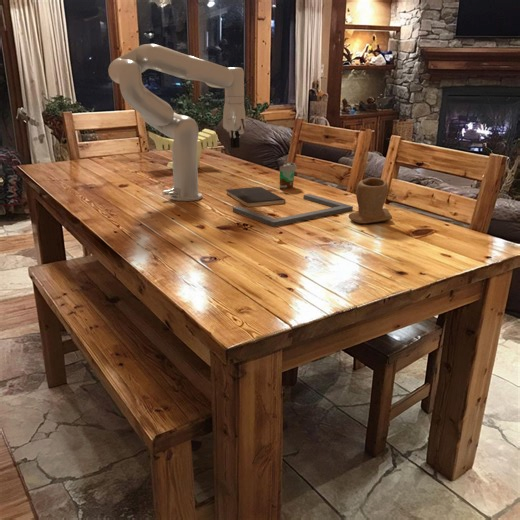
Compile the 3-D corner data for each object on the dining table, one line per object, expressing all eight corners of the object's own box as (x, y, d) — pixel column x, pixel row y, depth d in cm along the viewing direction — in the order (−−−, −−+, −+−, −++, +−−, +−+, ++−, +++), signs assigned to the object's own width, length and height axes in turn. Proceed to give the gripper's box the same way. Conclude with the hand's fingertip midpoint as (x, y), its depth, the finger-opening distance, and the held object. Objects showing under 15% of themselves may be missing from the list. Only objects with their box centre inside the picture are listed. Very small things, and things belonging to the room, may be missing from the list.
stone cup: (361, 228, 184) (364, 183, 179) (344, 219, 195) (346, 176, 190) (400, 224, 189) (405, 180, 184) (381, 215, 200) (385, 173, 195)
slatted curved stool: (160, 172, 269) (158, 135, 263) (150, 167, 282) (148, 131, 276) (217, 168, 282) (217, 132, 276) (206, 162, 295) (205, 128, 289)
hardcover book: (246, 208, 209) (246, 202, 209) (225, 195, 229) (225, 189, 228) (285, 204, 215) (285, 198, 215) (261, 191, 235) (261, 186, 234)
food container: (293, 190, 235) (294, 167, 232) (279, 189, 237) (279, 166, 233) (297, 184, 247) (298, 161, 243) (283, 183, 248) (284, 161, 245)
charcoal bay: (273, 226, 185) (273, 222, 184) (232, 211, 203) (232, 207, 202) (352, 210, 206) (352, 206, 206) (309, 197, 224) (309, 193, 223)
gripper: (216, 99, 224) (217, 146, 230) (237, 102, 212) (238, 150, 219) (231, 98, 228) (232, 144, 234) (253, 101, 217) (253, 149, 223)
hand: (235, 147), depth 226 cm, fingers closed
